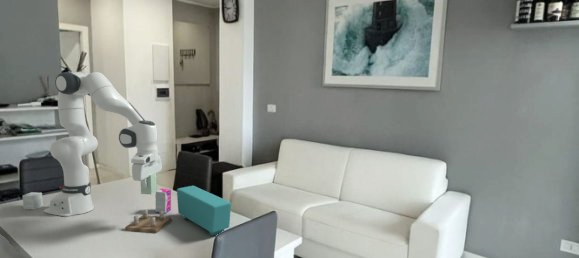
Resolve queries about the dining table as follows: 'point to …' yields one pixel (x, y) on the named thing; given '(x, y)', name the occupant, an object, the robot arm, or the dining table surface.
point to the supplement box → (163, 200)
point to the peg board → (148, 222)
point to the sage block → (150, 185)
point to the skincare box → (32, 200)
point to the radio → (204, 209)
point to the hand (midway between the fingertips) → (148, 185)
